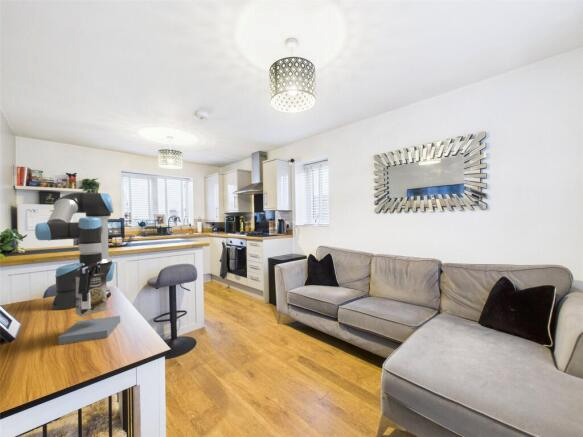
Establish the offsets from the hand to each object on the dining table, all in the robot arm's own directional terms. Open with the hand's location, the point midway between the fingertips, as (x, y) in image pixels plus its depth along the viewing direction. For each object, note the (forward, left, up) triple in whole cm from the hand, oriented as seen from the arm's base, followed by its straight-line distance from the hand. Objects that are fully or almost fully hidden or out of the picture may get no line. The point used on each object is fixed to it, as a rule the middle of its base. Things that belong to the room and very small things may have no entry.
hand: (91, 304), depth 106 cm
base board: (0, 0, -12) cm, 12 cm away
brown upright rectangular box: (0, 0, -4) cm, 4 cm away
